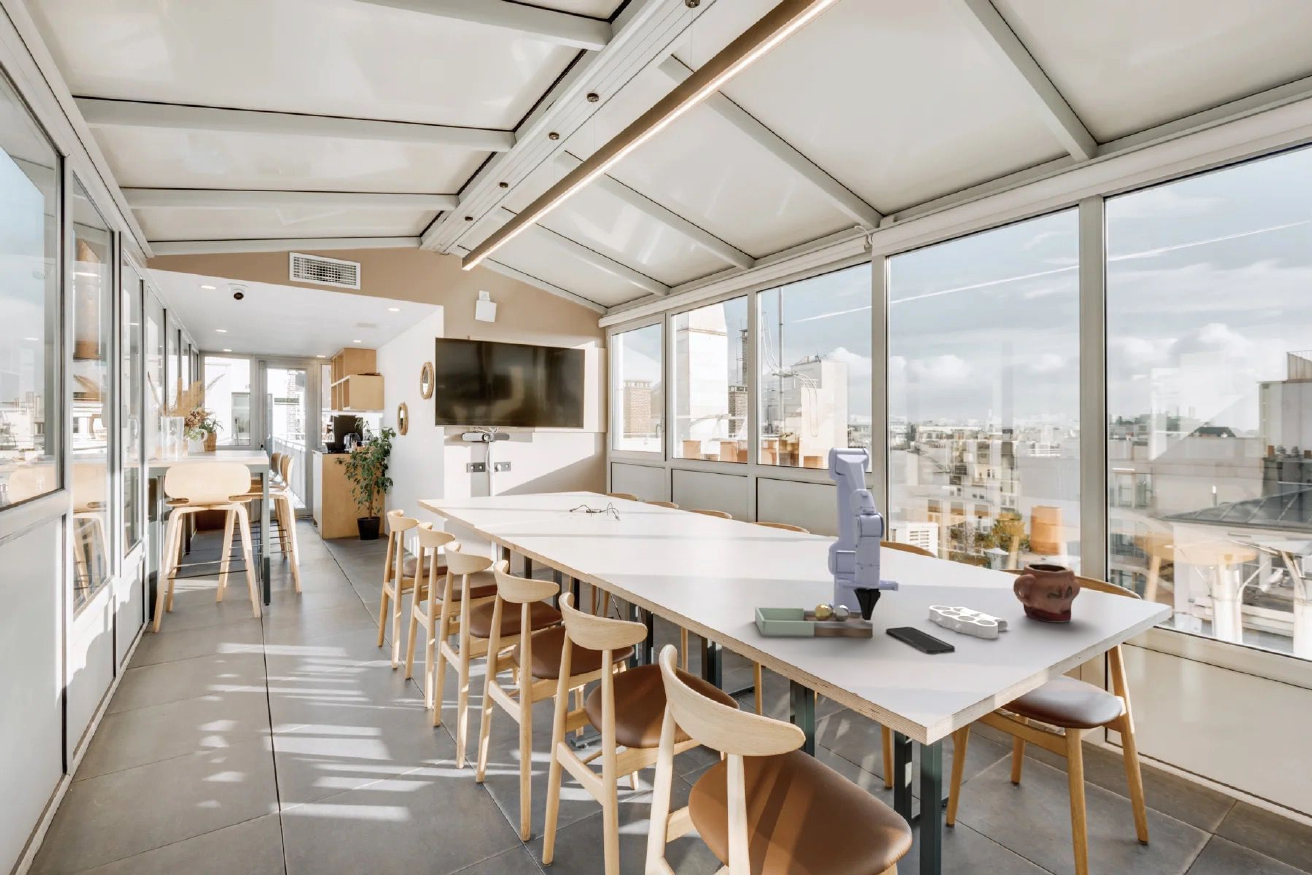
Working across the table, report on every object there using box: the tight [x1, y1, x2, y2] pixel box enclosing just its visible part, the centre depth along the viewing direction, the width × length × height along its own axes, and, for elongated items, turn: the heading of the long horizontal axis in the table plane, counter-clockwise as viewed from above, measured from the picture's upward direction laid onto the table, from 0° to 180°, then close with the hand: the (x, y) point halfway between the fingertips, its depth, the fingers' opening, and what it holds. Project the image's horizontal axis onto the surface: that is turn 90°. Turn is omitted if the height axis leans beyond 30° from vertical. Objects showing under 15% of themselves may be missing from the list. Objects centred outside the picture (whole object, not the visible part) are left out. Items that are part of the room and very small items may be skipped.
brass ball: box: [813, 604, 832, 621], centre depth 147 cm, size 4×4×4 cm
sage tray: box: [754, 606, 815, 638], centre depth 147 cm, size 12×12×4 cm
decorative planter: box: [1012, 563, 1081, 623], centre depth 158 cm, size 20×12×14 cm, turn 112°
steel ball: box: [832, 605, 850, 622], centre depth 147 cm, size 4×4×4 cm
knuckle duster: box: [928, 605, 1008, 640], centre depth 152 cm, size 3×18×15 cm
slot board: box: [803, 609, 874, 638], centre depth 147 cm, size 14×10×3 cm
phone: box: [885, 626, 956, 655], centre depth 140 cm, size 8×1×15 cm
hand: (866, 619), depth 147 cm, fingers closed
